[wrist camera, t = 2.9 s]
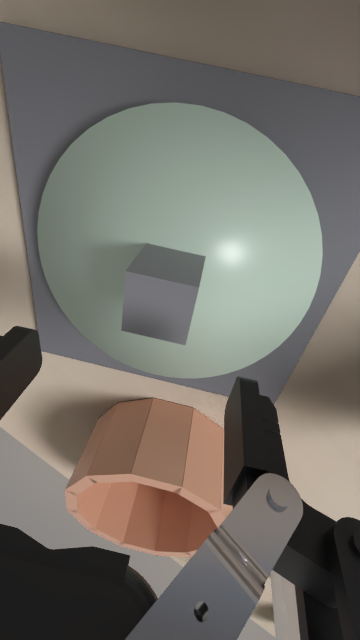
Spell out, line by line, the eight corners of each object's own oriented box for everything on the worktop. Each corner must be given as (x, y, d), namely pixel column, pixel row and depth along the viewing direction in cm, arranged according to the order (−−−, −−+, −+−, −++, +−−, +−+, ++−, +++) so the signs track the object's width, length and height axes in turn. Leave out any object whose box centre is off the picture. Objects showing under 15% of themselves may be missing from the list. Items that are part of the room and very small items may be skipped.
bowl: (99, 384, 26) (60, 456, 20) (248, 421, 26) (253, 505, 20) (97, 464, 34) (69, 532, 28) (212, 493, 34) (207, 569, 28)
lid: (30, 71, 14) (-57, 45, 10) (381, 144, 13) (450, 149, 9) (56, 341, 23) (18, 387, 19) (261, 390, 23) (267, 447, 19)
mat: (3, 24, 13) (-5, 20, 13) (430, 113, 13) (437, 112, 12) (43, 347, 25) (40, 350, 24) (271, 402, 24) (272, 407, 24)
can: (310, 557, 39) (336, 703, 29) (328, 577, 41) (358, 717, 32) (261, 559, 42) (270, 693, 32) (281, 578, 44) (295, 707, 34)
